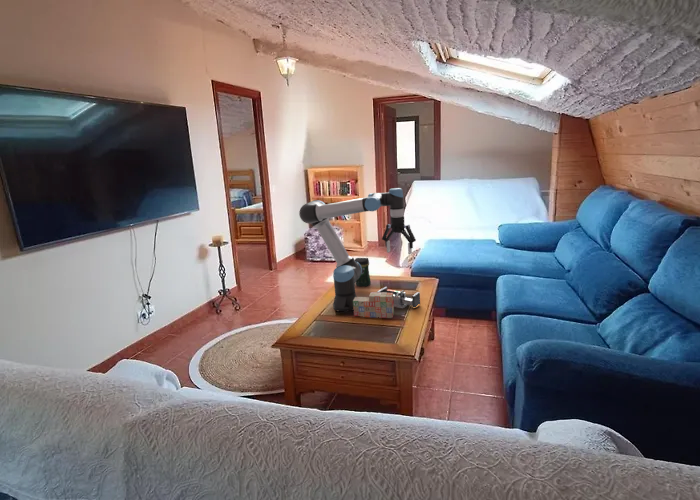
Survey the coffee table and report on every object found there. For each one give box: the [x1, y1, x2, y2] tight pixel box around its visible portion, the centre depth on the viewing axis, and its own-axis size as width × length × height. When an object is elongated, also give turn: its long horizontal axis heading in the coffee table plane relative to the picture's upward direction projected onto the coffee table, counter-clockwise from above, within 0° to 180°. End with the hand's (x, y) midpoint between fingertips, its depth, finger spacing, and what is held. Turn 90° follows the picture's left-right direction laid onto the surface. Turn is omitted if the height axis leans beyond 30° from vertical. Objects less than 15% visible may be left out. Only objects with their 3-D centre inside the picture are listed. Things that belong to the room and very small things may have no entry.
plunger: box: [395, 289, 421, 308], centre depth 230 cm, size 9×15×8 cm, turn 53°
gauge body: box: [376, 286, 408, 309], centre depth 235 cm, size 9×17×7 cm, turn 53°
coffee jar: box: [354, 257, 372, 287], centre depth 269 cm, size 10×8×19 cm
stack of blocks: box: [353, 291, 395, 319], centre depth 220 cm, size 21×6×12 cm, turn 75°
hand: (399, 253), depth 233 cm, fingers open, 13 cm apart
